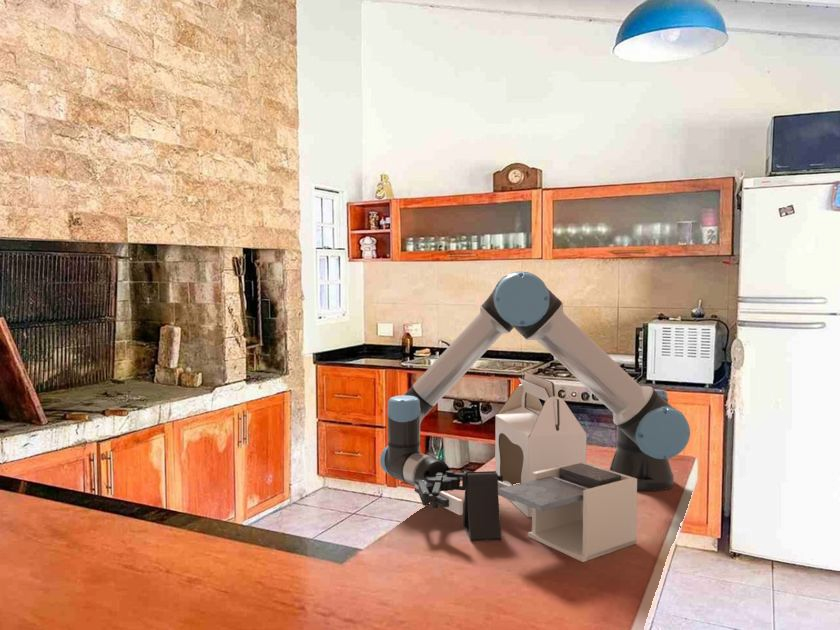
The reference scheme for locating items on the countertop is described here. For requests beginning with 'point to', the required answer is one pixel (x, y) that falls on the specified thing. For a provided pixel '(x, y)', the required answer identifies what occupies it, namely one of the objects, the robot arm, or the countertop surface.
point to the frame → (589, 518)
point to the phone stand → (481, 506)
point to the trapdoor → (559, 487)
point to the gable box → (535, 434)
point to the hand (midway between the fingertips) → (489, 501)
